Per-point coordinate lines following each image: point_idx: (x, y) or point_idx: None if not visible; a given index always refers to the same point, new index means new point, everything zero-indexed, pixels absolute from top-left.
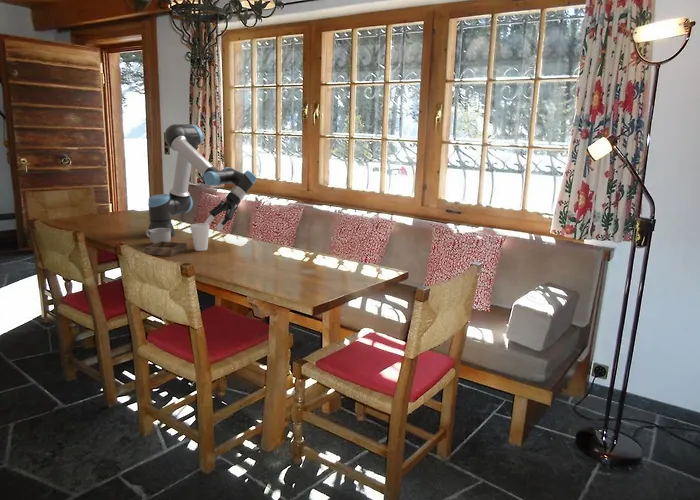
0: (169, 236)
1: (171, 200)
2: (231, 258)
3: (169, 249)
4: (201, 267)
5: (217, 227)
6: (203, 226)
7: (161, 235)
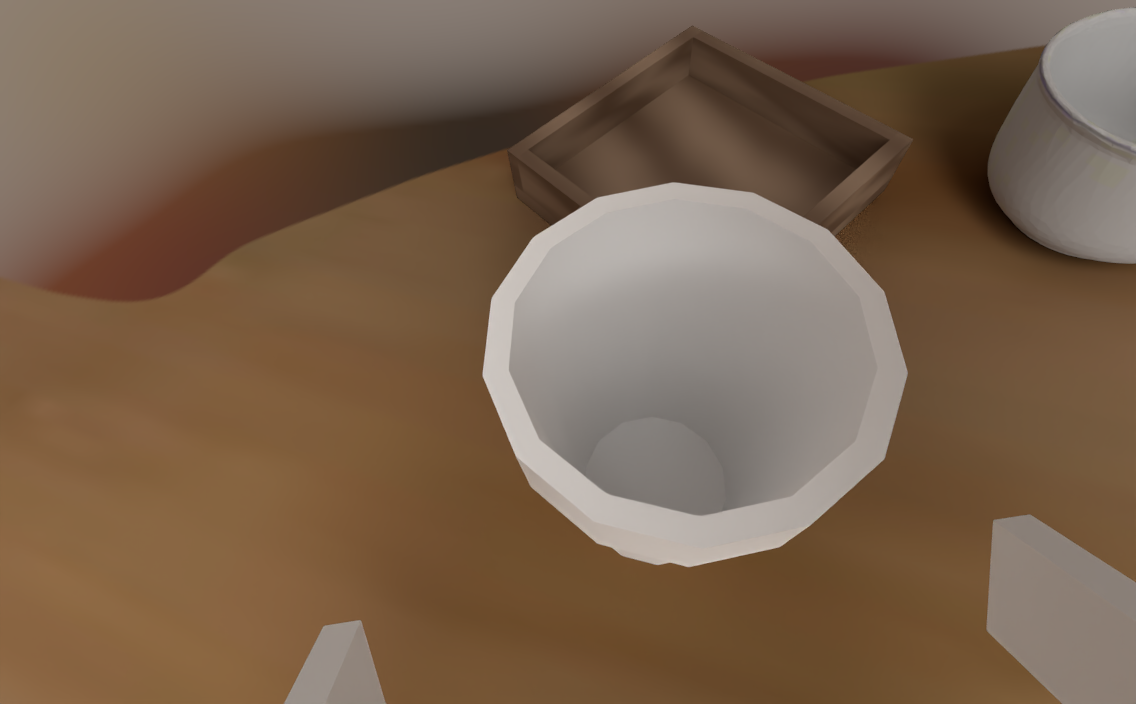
0: (1089, 207)
1: None
2: (27, 652)
3: (519, 145)
4: (30, 296)
5: (318, 659)
6: (486, 353)
7: (1030, 112)
